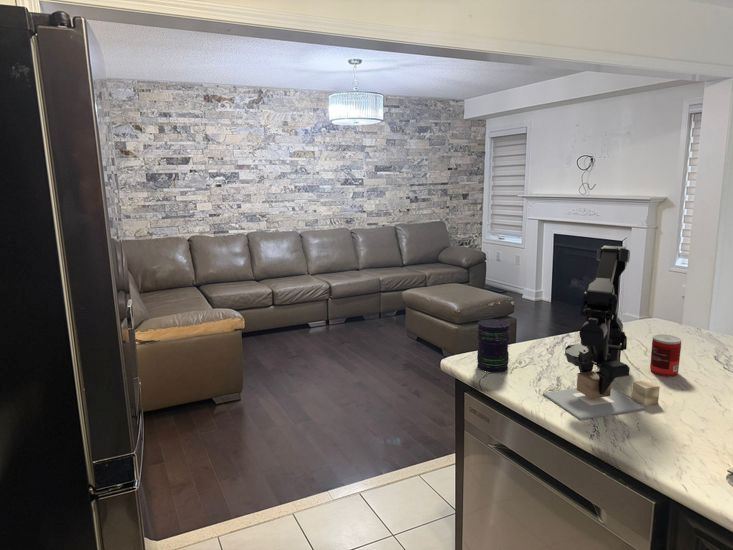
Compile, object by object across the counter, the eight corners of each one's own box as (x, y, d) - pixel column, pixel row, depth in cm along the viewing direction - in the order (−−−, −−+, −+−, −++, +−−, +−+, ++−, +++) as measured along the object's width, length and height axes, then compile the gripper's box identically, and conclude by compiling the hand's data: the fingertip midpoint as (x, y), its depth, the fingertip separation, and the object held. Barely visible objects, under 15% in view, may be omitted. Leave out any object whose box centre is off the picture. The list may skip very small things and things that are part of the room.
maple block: (644, 396, 140) (646, 379, 139) (658, 403, 136) (659, 386, 135) (631, 399, 139) (632, 382, 138) (644, 406, 135) (645, 388, 134)
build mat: (602, 385, 148) (602, 384, 148) (645, 409, 133) (645, 407, 133) (542, 394, 143) (542, 392, 143) (580, 419, 128) (580, 418, 128)
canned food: (674, 368, 160) (678, 335, 157) (681, 378, 152) (684, 343, 150) (647, 366, 162) (650, 333, 160) (652, 375, 155) (655, 341, 153)
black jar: (470, 366, 165) (471, 322, 162) (490, 359, 171) (491, 316, 168) (495, 375, 157) (496, 329, 154) (514, 368, 163) (516, 323, 160)
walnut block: (594, 387, 142) (596, 370, 141) (610, 395, 137) (611, 378, 136) (576, 390, 141) (577, 373, 140) (591, 398, 135) (592, 381, 134)
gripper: (549, 328, 142) (547, 380, 145) (595, 349, 125) (591, 408, 128) (583, 324, 145) (580, 375, 148) (633, 344, 127) (628, 402, 130)
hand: (593, 389), depth 138 cm, fingers closed on walnut block, 6 cm apart
